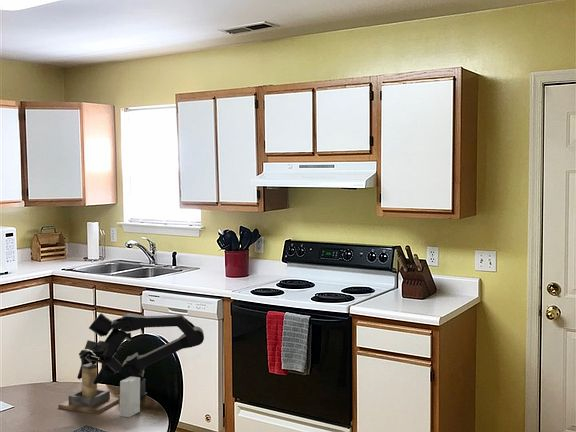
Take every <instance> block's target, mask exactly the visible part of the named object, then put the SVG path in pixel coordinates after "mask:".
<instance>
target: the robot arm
mask: <svg viewBox="0 0 576 432" xmlns="http://www.w3.org/2000/svg"><path fill="white" fill-rule="evenodd" d="M166 327H168V328H169V327H177V328H178V329H179V330H180V331H181V332H182V333H183V334H181V335H180V336H179V337H178V338H176V339H174V340H172V341H170V342H169V341H168V342H167V343H165V344H164V345H161V346H159V347H157V348H155V349H152V350H151V351H149V352H147V353H144V354H140V355H139V352H137V351H136V352H135V353H134V354H132V355H128V356H127V357H126V359H125V360H124V361H123V362H122V363H121V362H120V361H119V360H118V359H117V358H116V357H114V356H115V355H119V353H120V351H119V349H120V348H121V346H122V345H123V343H124V342H125V340H126V341H128V342H130V341H131V340H132V339H133V337H132V333H131V332H134V331H138V330H139V331H140V330H142V329H146V328H166ZM88 329H89V330H90V331H92V332H93V333H95V334H96V335H98V336H99V337H101V338H102V337H106V339H105V340H99V341H98V342H95V341H92V340H89V339H87V341H86V343H85V346H84V349H81V351H80V352H79V353H78V356H79V358H80V361H81V362H80V363H81V364H80V368H79V372H78V373H77V377H76V378H77V379H78V380H82V365H85V364H89V363H92V364H95V365H97V363H99V364H101V367H100V370H99V372H97V377H96V378H95V380H94V382H93V383H94V384H95V385H96V384H97V385H98V384H99V383H100V382H102V381H104V380H105V379H107V378H109V377H111V376H113V375H116V374H117V373H121V375H122V376H124V377H125V379H126V378H128V377H130V376H131V377H139V378H140V399H141V398H143V397H144V396H146V395H148V392H146V378H144V374H145V369H146V368H147V367H148V366H150V365H152V364H154V363H157V362H158V361H160V360H162V359H165V358H166V357H169V356H170V355H172V354H175V353H177V352H179V351H180V350H183V349H189V348H194V347H197V346H200V345H201V344H203V342H204V340H205V335H204V334H205V333H204V330H203V329H202V328H201V327H199V326H195V324H193V323H192V322H191V321H190V320H188V319H187V318H186V317H185V316H184V315H183V314H181V313H178V314H171V315H170V314H169V315H167V314H166V315H165V314H163V315H141V314H138V313H131V312H126V313H125V314H123V315H122V316H121V317H119V318H115V319H114V320H110V319H109V318H108V317H107V316H106V315H105V314H103V313H102V312H100V313H99V314H98V316H97V317H96V318H95V319H94V320H93V322H92V323H91V324H90V325H89V327H88ZM107 335H108V336H107Z"/></svg>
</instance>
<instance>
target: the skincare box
mask: <svg viewBox="0 0 576 432" xmlns="http://www.w3.org/2000/svg"><path fill="white" fill-rule="evenodd" d="M119 398H120V402H119V416H120V417H126V418H131V417H133V416H134V415H136V414H138V413H139V412H140V411H141V398H140V378H139V377H131V376H130V377H128V378H126V377H125V378H124V379H122V380H120V382H119Z"/></svg>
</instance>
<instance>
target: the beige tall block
mask: <svg viewBox="0 0 576 432" xmlns="http://www.w3.org/2000/svg"><path fill="white" fill-rule="evenodd" d="M97 375H98V365H97V364H92V363H89V364H85V365H82V378H81V389H82V396H83V397H91V398H93V397H95V396H97V389H98V383H97V384H96V385H95V384H94V383H93V382H94V380H95V378H96V377H97Z"/></svg>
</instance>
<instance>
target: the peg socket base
mask: <svg viewBox="0 0 576 432" xmlns="http://www.w3.org/2000/svg"><path fill="white" fill-rule="evenodd" d="M118 403H120V397H119V398H118V397H114V396H113V397H111V390H110V389H102V388H97V396H95V397H93V398H91V397H83V396H82V388H81V389H80V390H78V391H76V392H74V393H71V394H70V395H68V399H67V400H65V401H63V402H61V403H59V404H58V409H62V410H70V411H74V412H75V411H77V412H83V413H91V414H98V415H100V414H101V413H102V412H104V411H106V410H108V409H109V408H112V407H113V406H114V405H116V404H118Z"/></svg>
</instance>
